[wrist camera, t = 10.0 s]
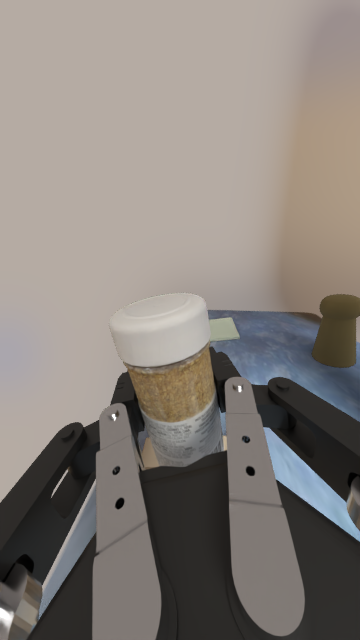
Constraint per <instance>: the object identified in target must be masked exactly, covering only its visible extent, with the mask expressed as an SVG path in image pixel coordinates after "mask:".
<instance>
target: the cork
mask: <svg viewBox="0 0 360 640" xmlns="http://www.w3.org/2000/svg"><path fill="white" fill-rule="evenodd" d="M320 312H321V314H322V315H323V317H322V321H321V324H320V327H319V331H318V334H317V337H316V341H315V344H314V347H313V351H312V357H313V358H314V359H315V360H316V361H318V362H320V363H322V364H325V365H327V366H332V367H339V368H344V367H350V366H353V365H354V364H355V363H356V318H357V317H358V316H360V298H358V297H356V296H352V295H345V294H343V295H342V294H337V295H330V296H327V297H325V298H324V299H323V300H322V301H321V304H320Z"/></svg>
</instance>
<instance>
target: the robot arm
mask: <svg viewBox="0 0 360 640" xmlns="http://www.w3.org/2000/svg"><path fill="white" fill-rule="evenodd" d="M209 352H210V358H211V365H212V371H213V378H214V382H215V385H216V390H217V397H218V405H219V408H220V410H221V413H223V412H226V436H227V450H225V451H221V452H217V453H213V454H209V455H206V456H204V457H203V458H201V459H199V460H197V461H195V462H194V463H192V464H190V465H188V466H186V467H176V466H159V467H155V468H151V469H147V470H146V469H145V465H144V461H143V457H142V453H141V449H140V445H139V441H138V432H140V431H144V426H145V423H144V420H143V417H142V414H141V411H140V408H139V405H138V398H137V395H136V392H135V389H134V386H133V383H132V379H131V377H130V374H129V372H128V371H127V372H126V373H122V375H121V376H120V377H119V378H118V381H117V385H116V388H115V391H114V394H113V398H112V401H111V404H110V406H109V407H107V408H106V409H105V410H104V411H103V412H102V413H101V415H100V418H99V420H98V421H96V422H94V423H92V424H90V425H88V426H86V427H83V425H82V424H81V423H79V422H75V423H71V424H69V425H67V426H65V427H64V428H62V429H61V430H60V431H59V432H58V433H57V434H56V435H55V436H54V438H53V439H52V440H51V441H50V443H49V444H48V445H47V446H46V447H45V449H44V450H43V451H42V452H41V454H40V455H39V456H38V457H37V459H36V460H35V461H34V462H33V463H32V465H31V466H30V467H29V468H28V470H27V471H26V472H25V473H24V475H23V476H22V477H21V478H20V479H19V481H18V482H17V483H16V485H15V486H14V487H13V488H12V489H11V491H10V492H9V493H8V494H7V496H6V497H5V498H4V499H3V500H2V502H1V503H0V640H360V542H359V541H358V540H356V539H355V538H354V537H352V536H351V535H350V534H348V533H347V532H346V531H344V530H343V529H342V528H340V527H339V526H338V525H336V524H335V523H334V522H332V521H331V520H330V519H328V518H327V517H326V516H324V515H323V514H322V513H320V512H319V511H318V510H316V509H315V508H314V507H312V506H311V505H310V504H308V503H307V502H306V501H304V500H303V499H302V498H300V497H299V496H298V495H296V494H295V493H294V492H292V491H291V490H290V489H288V488H287V487H286V486H284V485H283V484H282V483H280V482H279V481H278V480H276V479H275V474H274V470H273V466H272V462H271V458H270V454H269V450H268V445H267V441H266V437H265V433H264V429H263V427H268V428H270V429H271V430H272V431H273V432H274V433H275V434H276V435H277V436H278V437H279V438H280V439H281V440H282V441H283V442H284V443H285V444H286V445H288V446H289V447H290V448H291V449H292V450H293V451H294V452H295V453H296V454H297V455H298V456H299V457H300V458H301V459H302V460H303V461H304V462H305V463H306V464H307V465H308V466H309V467H310V468H311V469H312V470H313V471H314V472H315V473H316V474H318V475H319V476H320V477H321V478H322V479H323V480H324V481H325V482H326V483H327V484H328V485H329V486H330V487H331V488H332V489H333V490H334V491H335V492H336V493H337V494H338V495H339V496H340V497H341V498H342V499H343V500H344V501H345V502H346V503H347V510H348V513H349V516H350V518H351V520H352V521H353V523H354V524H355V526H356V527H357V528H358V529H359V531H360V422H359V421H357V420H355V419H354V418H352V417H351V416H349V415H347V414H346V413H344V412H342V411H341V410H339V409H337V408H336V407H334V406H333V405H331V404H329V403H328V402H326V401H324V400H323V399H321V398H320V397H318V396H316V395H315V394H313V393H311V392H310V391H308V390H306V389H305V388H303V387H302V386H300V385H298V384H297V383H295V382H293V381H292V380H290V379H287V378H283V377H276V378H272V379H271V380H269V382H268V385H253V384H251V383H250V382H249V381H248V380H247V379H245V378H242V377H241V376H240V374H239V373H238V371H237V370H236V368H235V366H234V365H233V364H232V362H231V360H230V359H229V357H228V356H227V355H226V354H224V353H223V352H218V353H216V352H215V350H214V348H213V347H209ZM67 469H68V473H67V474H66V476H65V477H64V479H63V481H62V482H61V484H60V485H59V487H58V489H57V490H56V492H55V493H54V495H53V496H52V493H53V490H54V489H55V487H56V485H57V484H58V482H59V481H60V479H61V478H62V476H63V474H64V473H65V471H66V470H67ZM95 479H96V533H95V534H94V536H93V537H92V539H91V540H90V542H89V543H88V545H87V546H86V548H85V550H84V551H83V553H82V554H81V556H80V557H79V559H78V560H77V562H76V563H75V565H74V566H73V568H72V570H71V571H70V573H69V574H68V576H67V577H66V579H65V580H64V582H63V583H62V585H61V587H60V588H59V590H58V591H57V593H56V594H55V596H54V597H53V599H52V600H51V602H50V603H49V605H48V607H47V608H46V610H45V611H44V613H43V614H42V616H41V617H40V619H39V620H38V618H39V607H40V604H41V599H42V585H43V583H44V581H45V579H46V577H47V574H48V573H49V571H50V569H51V567H52V565H53V563H54V561H55V559H56V557H57V555H58V553H59V551H60V549H61V547H62V545H63V543H64V541H65V539H66V537H67V535H68V533H69V531H70V529H71V526H72V525H73V523H74V521H75V518H76V517H77V514H78V513H79V511H80V509H81V507H82V505H83V503H84V501H85V499H86V497H87V494H88V493H89V491H90V489H91V487H92V485H93V483H94V481H95ZM51 496H52V498H51Z"/></svg>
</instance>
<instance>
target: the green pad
mask: <svg viewBox="0 0 360 640" xmlns="http://www.w3.org/2000/svg"><path fill="white" fill-rule="evenodd" d="M209 324H210V331H211V336H210V341H221V340H231V339H240V336H239V334H238V332H237V329H236V327H235V325H234V322H233V320H232V318H222V319H213V320H209Z"/></svg>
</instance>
